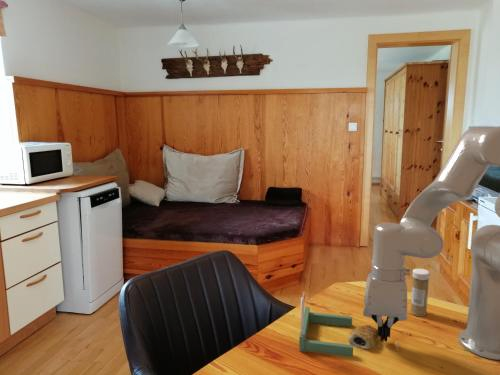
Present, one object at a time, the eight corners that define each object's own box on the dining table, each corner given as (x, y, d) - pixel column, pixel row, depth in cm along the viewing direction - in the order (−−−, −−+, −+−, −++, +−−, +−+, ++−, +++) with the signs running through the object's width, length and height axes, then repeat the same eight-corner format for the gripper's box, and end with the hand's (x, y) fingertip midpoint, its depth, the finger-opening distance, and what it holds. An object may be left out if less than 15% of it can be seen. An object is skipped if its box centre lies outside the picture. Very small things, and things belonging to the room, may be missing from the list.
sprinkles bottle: (429, 314, 116) (433, 271, 113) (420, 318, 113) (423, 275, 111) (415, 308, 120) (418, 266, 117) (406, 312, 117) (409, 270, 115)
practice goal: (351, 324, 111) (353, 278, 108) (352, 357, 96) (354, 305, 93) (305, 319, 114) (305, 274, 112) (299, 351, 99) (299, 300, 96)
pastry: (360, 328, 109) (360, 316, 108) (384, 336, 105) (385, 323, 104) (346, 344, 102) (347, 331, 101) (371, 353, 98) (372, 340, 97)
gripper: (416, 268, 100) (411, 334, 103) (356, 264, 103) (353, 327, 107) (422, 280, 93) (416, 350, 96) (357, 275, 96) (354, 342, 99)
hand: (383, 338), depth 101 cm, fingers closed
